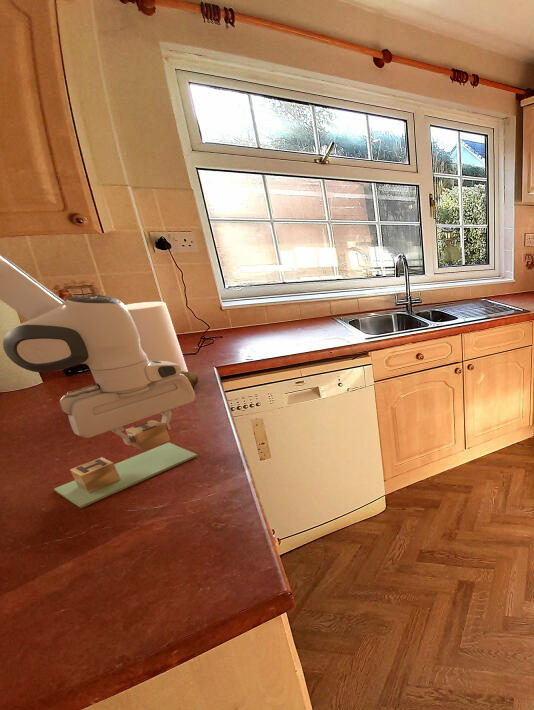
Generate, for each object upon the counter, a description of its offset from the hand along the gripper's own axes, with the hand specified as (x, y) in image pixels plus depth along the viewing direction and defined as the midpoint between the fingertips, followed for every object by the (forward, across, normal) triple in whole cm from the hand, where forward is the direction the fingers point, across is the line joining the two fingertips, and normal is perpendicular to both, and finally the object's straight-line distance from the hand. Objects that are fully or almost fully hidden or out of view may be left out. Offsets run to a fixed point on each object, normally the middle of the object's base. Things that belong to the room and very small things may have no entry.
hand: (149, 436), depth 90 cm
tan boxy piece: (+2, 0, 0) cm, 2 cm away
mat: (+6, -5, 0) cm, 8 cm away
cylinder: (+6, +26, +53) cm, 59 cm away
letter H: (+6, -10, 0) cm, 12 cm away
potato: (+6, +23, +41) cm, 47 cm away
